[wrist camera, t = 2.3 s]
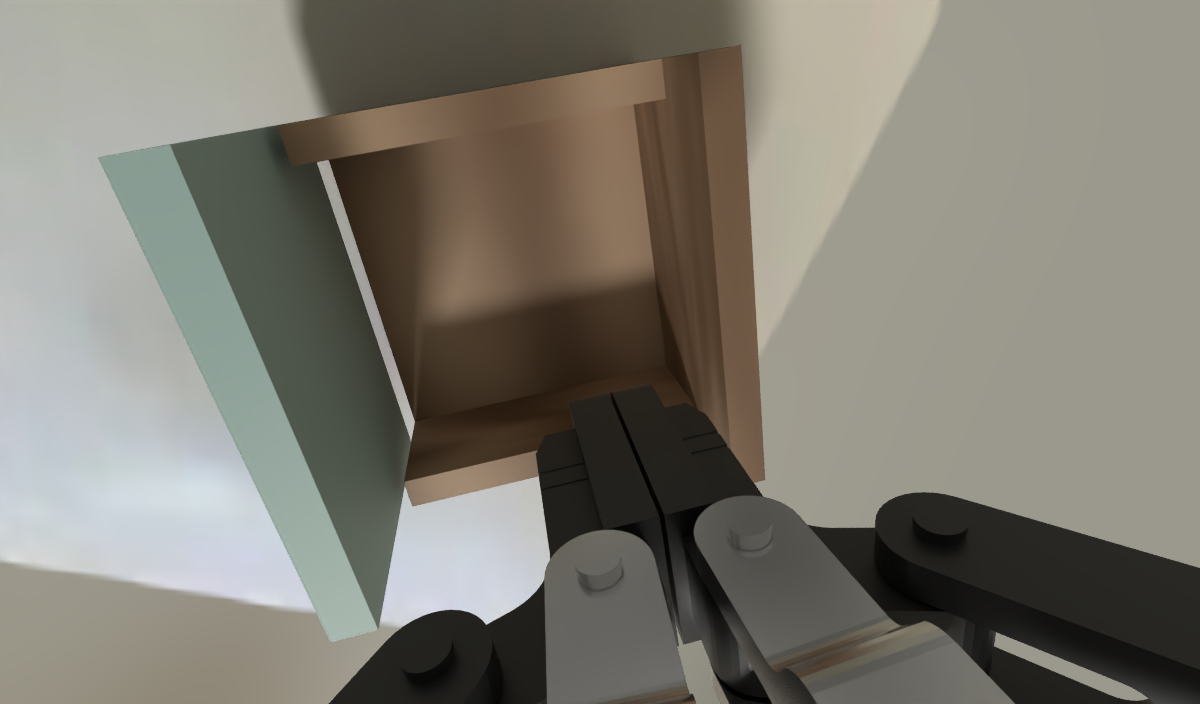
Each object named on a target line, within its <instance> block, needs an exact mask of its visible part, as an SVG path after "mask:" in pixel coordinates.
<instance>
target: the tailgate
mask: <svg viewBox="0 0 1200 704" xmlns="http://www.w3.org/2000/svg"><path fill="white" fill-rule="evenodd" d="M299 122H300V121H299ZM293 123H294V122H293ZM287 124H288V123H287ZM282 125H283V124H282ZM98 159H99V161H100V163H101V165H102V167H103V169H104V171H105V173H106V175H107V177H108V180H109V182H110V184H111V186H112V188H113V190H114V192H115V194H116V196H117V198H118V200H119V202H120V205H121V207H122V209H123V211H124V213H125V215H126V217H127V219H128V221H129V223H130V225H131V227H132V230H133V232H134V234H135V236H136V238H137V240H138V242H139V244H140V246H141V248H142V250H143V252H144V255H145V257H146V259H147V261H148V263H149V265H150V267H151V269H152V271H153V273H154V275H155V277H156V280H157V282H158V284H159V286H160V288H161V290H162V292H163V294H164V296H165V298H166V300H167V302H168V305H169V307H170V309H171V311H172V313H173V315H174V317H175V319H176V321H177V323H178V325H179V327H180V330H181V332H182V334H183V336H184V338H185V340H186V342H187V344H188V346H189V348H190V350H191V352H192V355H193V357H194V359H195V361H196V363H197V365H198V367H199V369H200V371H201V373H202V375H203V377H204V379H205V382H206V384H207V386H208V388H209V390H210V392H211V394H212V396H213V398H214V400H215V402H216V404H217V407H218V409H219V411H220V413H221V415H222V417H223V419H224V421H225V423H226V425H227V427H228V429H229V432H230V434H231V436H232V438H233V440H234V442H235V444H236V446H237V448H238V450H239V452H240V454H241V457H242V459H243V461H244V463H245V465H246V467H247V469H248V471H249V473H250V475H251V477H252V479H253V482H254V484H255V486H256V488H257V490H258V492H259V494H260V496H261V498H262V500H263V502H264V504H265V507H266V509H267V511H268V513H269V515H270V517H271V519H272V521H273V523H274V525H275V527H276V529H277V532H278V534H279V536H280V538H281V540H282V542H283V544H284V546H285V548H286V550H287V552H288V554H289V557H290V559H291V561H292V563H293V565H294V567H295V569H296V571H297V573H298V575H299V577H300V579H301V582H302V584H303V586H304V588H305V590H306V592H307V594H308V596H309V598H310V600H311V602H312V604H313V607H314V609H315V611H316V613H317V615H318V617H319V619H320V621H321V623H322V625H323V627H324V629H325V632H326V634H327V636H328V638H329V640H330V642H333V641H337V640H341V639H345V638H349V637H352V636H357V635H360V634H364V633H368V632H372V631H376V630H378V628H379V623H380V617H381V612H382V606H383V601H384V595H385V590H386V585H387V579H388V574H389V568H390V563H391V557H392V552H393V546H394V541H395V536H396V530H397V525H398V519H399V514H400V508H401V503H402V497H403V492H404V487H405V484H404V478H405V473H406V467H407V462H408V457H409V451H410V446H411V440H410V437H409V434H408V431H407V428H406V425H405V422H404V419H403V416H402V413H401V410H400V407H399V404H398V402H397V399H396V396H395V393H394V390H393V387H392V384H391V381H390V378H389V375H388V372H387V369H386V366H385V363H384V360H383V357H382V354H381V351H380V348H379V345H378V342H377V339H376V336H375V333H374V331H373V328H372V325H371V322H370V319H369V316H368V313H367V310H366V307H365V304H364V301H363V298H362V295H361V292H360V289H359V286H358V283H357V280H356V277H355V274H354V271H353V268H352V265H351V262H350V260H349V257H348V254H347V251H346V248H345V245H344V242H343V239H342V236H341V233H340V230H339V227H338V224H337V221H336V218H335V215H334V212H333V209H332V206H331V203H330V200H329V197H328V194H327V192H326V189H325V186H324V183H323V180H322V177H321V174H320V171H319V168H318V165H317V162H314V163H308V164H302V165H297V166H291V163H290V161H289V158H288V155H287V152H286V149H285V147H284V144H283V141H282V138H281V135H280V133H279V130H278V127H277V125H276V126H270V127H264V128H259V129H253V130H248V131H242V132H236V133H231V134H225V135H220V136H214V137H209V138H203V139H197V140H192V141H186V142H181V143H175V144H170V145H164V146H158V147H153V148H147V149H142V150H136V151H131V152H125V153H119V154H114V155H108V156H103V157H98Z"/></svg>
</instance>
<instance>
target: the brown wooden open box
mask: <svg viewBox="0 0 1200 704" xmlns="http://www.w3.org/2000/svg"><path fill="white" fill-rule="evenodd" d="M277 127H278V130H279V133H280V135H281V138H282V141H283V144H284V147H285V149H286V152H287V155H288V158H289V161H290V163H291V166H297V165H302V164H308V163H314V162H319V161H325V160H329V162H330V165H331V168H332V171H333V174H334V177H335V180H336V183H337V186H338V189H339V192H340V195H341V198H342V201H343V204H344V208H345V211H346V214H347V217H348V220H349V223H350V226H351V229H352V232H353V235H354V238H355V241H356V244H357V247H358V250H359V253H360V256H361V259H362V262H363V265H364V268H365V271H366V274H367V277H368V280H369V283H370V286H371V289H372V292H373V296H374V299H375V302H376V305H377V308H378V311H379V314H380V317H381V320H382V323H383V326H384V329H385V332H386V335H387V338H388V341H389V344H390V347H391V350H392V353H393V356H394V359H395V362H396V365H397V368H398V371H399V374H400V377H401V380H402V384H403V387H404V390H405V393H406V396H407V399H408V402H409V405H410V408H411V411H412V414H413V417H414V420H415V425H414V430H413V435H412V441H411V446H410V451H409V457H408V462H407V467H406V473H405V478H404V484H405V487H406V490H407V493H408V495H409V498H410V501H411V504H412V507H413V506H417V505H421V504H425V503H429V502H433V501H437V500H442V499H446V498H450V497H454V496H458V495H462V494H467V493H471V492H475V491H479V490H483V489H487V488H492V487H496V486H500V485H504V484H508V483H512V482H517V481H521V480H525V479H529V478H533V477H537V476H539V474H538V467H537V460H536V453H537V451H538V449H539V447H540V445H541V443H542V441H543V439H544V437H545V435H549V434H553V433H558V432H562V431H566V430H571V429H573V424H572V419H571V414H570V409H569V403H568V402H569V401H574V400H578V399H582V398H587V397H591V396H596V395H600V394H604V393H608V394H609V396H610V393H611V392H613V391H617V390H622V389H626V388H630V387H635V386H639V385H644V384H648V383H650V384H651V385H652V386H653V388H654V390H655V391H656V393H657V395H658V397H659V398H660V400H661V402H662V404H663V405H664V407H670V406H674V405H678V404H683V403H686V404H688V405H690V406H692V407H694V408H696V409H698V410H699V411H701V412H703V413H705V414H706V415H707V416H708V417H709V419H710V420H711V422H712V423H713V425H714V426H715V428H716V429H717V430H718V434H720V435H721V436H722V438H723V439H724V441H725V442H726V443H727V447H728V448H730V449H731V451H732V452H733V454H734V455H735V457H736V458H737V459H738V461H739V462H740V464H741V465H742V467H743V468H744V470H745V471H746V472H747V474H748V475H749V477H750V478H751V480H752V481H753V483H754V482H758V481H762V480H765V470H764V452H763V434H762V416H761V399H760V380H759V362H758V344H757V325H756V307H755V289H754V271H753V253H752V235H751V217H750V199H749V181H748V163H747V145H746V127H745V109H744V90H743V72H742V54H741V45H739V46H733V47H727V48H721V49H715V50H709V51H703V52H697V53H691V54H685V55H679V56H673V57H667V58H661V59H655V60H649V61H643V62H637V63H631V64H626V65H620V66H614V67H608V68H603V69H597V70H591V71H585V72H580V73H574V74H568V75H562V76H557V77H551V78H545V79H539V80H534V81H528V82H522V83H516V84H511V85H505V86H499V87H493V88H488V89H482V90H476V91H470V92H465V93H459V94H453V95H447V96H442V97H436V98H430V99H424V100H419V101H413V102H407V103H401V104H396V105H390V106H384V107H378V108H373V109H367V110H361V111H355V112H350V113H344V114H338V115H333V116H327V117H322V118H316V119H311V120H305V121H300V122H294V123H288V124H283V125H277ZM610 398H611V396H610Z"/></svg>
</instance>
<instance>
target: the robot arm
mask: <svg viewBox="0 0 1200 704" xmlns="http://www.w3.org/2000/svg"><path fill="white" fill-rule="evenodd" d="M610 396H611V398H610ZM610 396H609V394H608V393H604V394H600V395H596V396H591V397H587V398H582V399H578V400H574V401H569V402H568V403H569V409H570V414H571V419H572V424H573V429H571V430H566V431H562V432H558V433H553V434H549V435H545V437H544V439H543V441H542V443H541V445H540V447H539V449H538V451H537V453H536V460H537V467H538V474H539V481H540V488H541V495H542V502H543V509H544V516H545V523H546V530H547V537H548V544H549V550H550V561H549V563H548V565H547V567H546V571H545V578H544V581H543V583H542V584H541V586H540V587H539V588H538V590H537V591H536V592H535V593H534V594H533V595H532V596H531V597H530V598H529V599H528V600H527V601H525V602H524V603H523V604H522V605H520V606H519V607H517V608H516V609H514V610H512V611H511V612H509V613H507V614H505V615H503V616H502V617H500V618H498V619H496V620H494V621H493V622H491V623H489V624H487V625H486V624H485V623H484V622H483V621H482V620H481V619H480V618H479V617H477V616H476V615H474V614H471V613H469V612H465V611H461V610H444V611H438V612H434V613H430V614H427V615H424V616H422V617H420V618H418V619H415V620H413V621H412V622H410V623H408V624H407V625H405V626H403V627H402V628H401V629H400V630H398V631H397V632H396V633H394V634H393V635H392V636H391V637H390V638H389V639H388V640H387V641H386V642H385V643H384V644H383V645H382V646H381V648H379V650H378V651H377V652H376V653H375V654H374V655H373V656H372V657H371V658H370V660H369V661H368V662H367V663H366V664H365V665H364V666H363V667H362V668H361V669H360V670H359V671H358V673H357V674H356V675H355V676H354V677H353V678H352V679H351V680H350V681H349V682H348V683H347V685H346V686H345V687H344V688H343V689H342V690H341V691H340V692H339V693H338V694H337V695H336V696H335V697H334V699H333V700H332V701H331V702H330V703H329V704H696V701H695V699H694V696H693V694H690V693H689V690H688V687H687V683H686V680H685V675H684V671H683V667H682V663H681V659H680V656H679V652H678V648H677V646H679V644H678V637H677V630H676V626H677V628H678V631H679V634H680V637H681V640H682V642H683V644H687V643H691V642H695V641H698V640H702V643H703V645H704V648H705V650H706V653H707V655H708V658H709V661H710V669H711V677H712V684H713V689H714V692H715V694H716V697H717V699H718V701H719V703H720V704H1200V568H1198V567H1194V566H1191V565H1187V564H1184V563H1180V562H1177V561H1174V560H1170V559H1167V558H1163V557H1160V556H1157V555H1153V554H1150V553H1146V552H1143V551H1139V550H1136V549H1132V548H1129V547H1125V546H1122V545H1119V544H1115V543H1112V542H1108V541H1105V540H1102V539H1098V538H1095V537H1091V536H1088V535H1085V534H1081V533H1078V532H1074V531H1071V530H1067V529H1064V528H1061V527H1057V526H1054V525H1050V524H1047V523H1043V522H1040V521H1036V520H1033V519H1030V518H1026V517H1023V516H1019V515H1016V514H1012V513H1009V512H1005V511H1002V510H998V509H995V508H992V507H988V506H985V505H982V504H978V503H975V502H971V501H968V500H964V499H961V498H958V497H954V496H949V495H945V494H939V493H925V492H922V493H910V494H905V495H901V496H898V497H895V498H893V499H891V500H889V501H888V502H887V503H885V504H884V505H883V506H882V507H881V508H880V509H879V511H878V513H877V515H876V520H875V528H823V527H816V526H810V525H807V524H806V523H805V522H804V521H803V520H802V518H801V517H800V516H799V515H798V514H797V513H796V512H795V511H794V510H793V509H791V508H790V507H788V506H787V505H785V504H783V503H781V502H779V501H776V500H773V499H770V498H766V497H763V496H762V494H761V493H760V491H759V490H758V488H757V487H756V485H755V484H754V483H753V481H752V480H751V478H750V477H749V475H748V474H747V472H746V471H745V470H744V468H743V467H742V465H741V464H740V462H739V461H738V459H737V458H736V457H735V455H734V454H733V452H732V451H731V449H730V448H728V447H727V443H726V442H725V441H724V439H723V438H722V436H721V435H720V434H718V430H717V429H716V428H715V426H714V425H713V423H712V422H711V420H710V419H709V417H708V416H707V415H706V414H705V413H703V412H701V411H699V410H698V409H696V408H694V407H692V406H690V405H688V404H686V403H683V404H678V405H674V406H670V407H664V405H663V404H662V402H661V400H660V398H659V397H658V395H657V393H656V391H655V390H654V388H653V386H652V385H651V384H650V383H648V384H644V385H639V386H635V387H630V388H626V389H622V390H617V391H613V392H611V393H610ZM675 623H676V624H675ZM996 632H997V633H1000V634H1002V635H1005V636H1007V637H1010V638H1012V639H1014V640H1017V641H1019V642H1022V643H1025V644H1027V645H1029V646H1032V647H1034V648H1037V649H1039V650H1042V651H1044V652H1047V653H1049V654H1051V655H1054V656H1057V657H1059V658H1062V659H1064V660H1066V661H1069V662H1071V663H1074V664H1076V665H1079V666H1081V667H1084V668H1086V669H1088V670H1091V671H1094V672H1096V673H1098V674H1101V675H1103V676H1106V677H1108V678H1111V679H1113V680H1116V681H1118V682H1121V683H1123V684H1125V685H1127V686H1130V687H1132V688H1133V689H1135V690H1137V691H1139V692H1140V693H1142V694H1143V695H1145V696H1146V697H1148V698H1149V699H1146V700H1141V701H1130V700H1124V699H1120V698H1116V697H1114V696H1111V695H1108V694H1106V693H1104V692H1101V691H1099V690H1096V689H1094V688H1091V687H1089V686H1087V685H1085V684H1082V683H1080V682H1077V681H1075V680H1073V679H1070V678H1068V677H1065V676H1063V675H1061V674H1058V673H1056V672H1054V671H1051V670H1049V669H1046V668H1044V667H1042V666H1039V665H1037V664H1034V663H1032V662H1030V661H1027V660H1025V659H1023V658H1020V657H1018V656H1015V655H1013V654H1011V653H1008V652H1006V651H1003V650H1001V649H999V648H996V647H994V642H995V635H996Z"/></svg>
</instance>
